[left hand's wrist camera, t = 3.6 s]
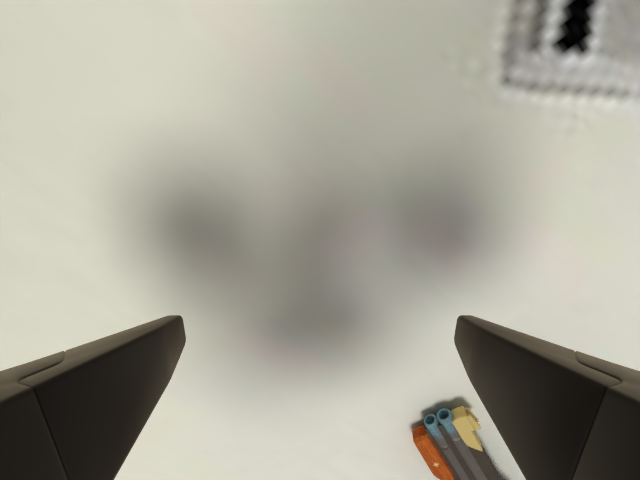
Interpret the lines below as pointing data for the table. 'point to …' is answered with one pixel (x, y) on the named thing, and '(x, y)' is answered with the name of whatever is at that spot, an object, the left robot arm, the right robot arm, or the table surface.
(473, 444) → the toy gun
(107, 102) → the table surface
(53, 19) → the table surface
